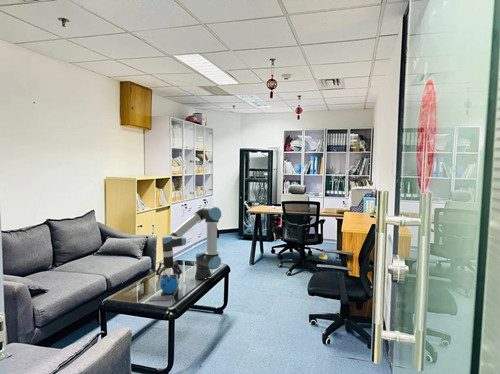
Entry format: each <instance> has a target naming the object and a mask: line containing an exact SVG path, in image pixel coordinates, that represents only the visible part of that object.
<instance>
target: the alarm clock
mask: <svg viewBox="0 0 500 374" xmlns="http://www.w3.org/2000/svg"><path fill="white" fill-rule="evenodd" d="M179 283H180V282H179ZM179 283H177V273H171V274H167V273H164V274H162V281H161V284H160V283H159V285H160V289H161V292H165V294H173V292H174V291H175V290H176V289H177V287H178V286H179Z"/></svg>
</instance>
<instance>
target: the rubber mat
mask: <svg viewBox="0 0 500 374" xmlns="http://www.w3.org/2000/svg"><path fill="white" fill-rule="evenodd" d="M173 297H174V296H173V295H163V296H161V295H159V296H158V295H157V296H151V297H150V298H149V300H148V302H161V301H163V302H164V301H165V302H167V301H169V302H170V301H171V300H172V299H173Z"/></svg>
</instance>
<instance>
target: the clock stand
mask: <svg viewBox="0 0 500 374" xmlns="http://www.w3.org/2000/svg"><path fill="white" fill-rule="evenodd" d="M178 291H180V287H179V285H178V287H177V289H176V290H175V291H174V292H173V293H172V296H173V297H175V296H176V295H177V293H178ZM165 294H166V293H165V292H163V291H161V292H160V296H165Z"/></svg>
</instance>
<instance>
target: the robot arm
mask: <svg viewBox="0 0 500 374" xmlns="http://www.w3.org/2000/svg"><path fill="white" fill-rule="evenodd" d="M221 218H222V211H221V209H220V208H219V207H217V206H213V205H204V206H202V207H200V208H198V209H197V210H196V211H195V212H193V214H192V216H190V217H189V218H188V219H186V221H184V222H183V223H182V224H181V225H179V227H178V228H176V229H175V230H173V232H172V233H170V234H166V235H165V236H163V237H162V240H161V241H162V243H161V244H162V256H163V259H162V261H163V262H162V261H160V262H159V263H158V264H159V266H158V268H157V270H156V272H155V275H156V276H158V280H159V285H160V284H161V281H162V280H163V279H162V276H163V274H162V273H163V272H164V271H165V269H172V270H173V271H174V272H175V274H176V278H177V283H180V278H181V274H182V273H183V271H182V269H181V267H180V266H179V263H178V261H174V256H173V255H174V249H173V248H177V247H183V246H186V244H187V238H186V237H185V236H184V235H185V234H186V233H188V232H189V231H190V230H191V229H193V227H194V226H196V225H197V224H198V223H199V222H200V223H201V222H202V221H203V220H205V224H206V251H201V252H200V251H199V252H197V253H196V254H195V266H196V271H195V275H194V279H195V280H196V279H205V278H208V277H211V276H212V277H213V275H212V274H213V273H212V271H211V270H217V269H219V267H220V266H221V264H222V259H221V257H220V256H219V252H218V247H217V246H218V224H219V222H220V219H221ZM174 265H175V266H174ZM162 266H163V267H162Z"/></svg>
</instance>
